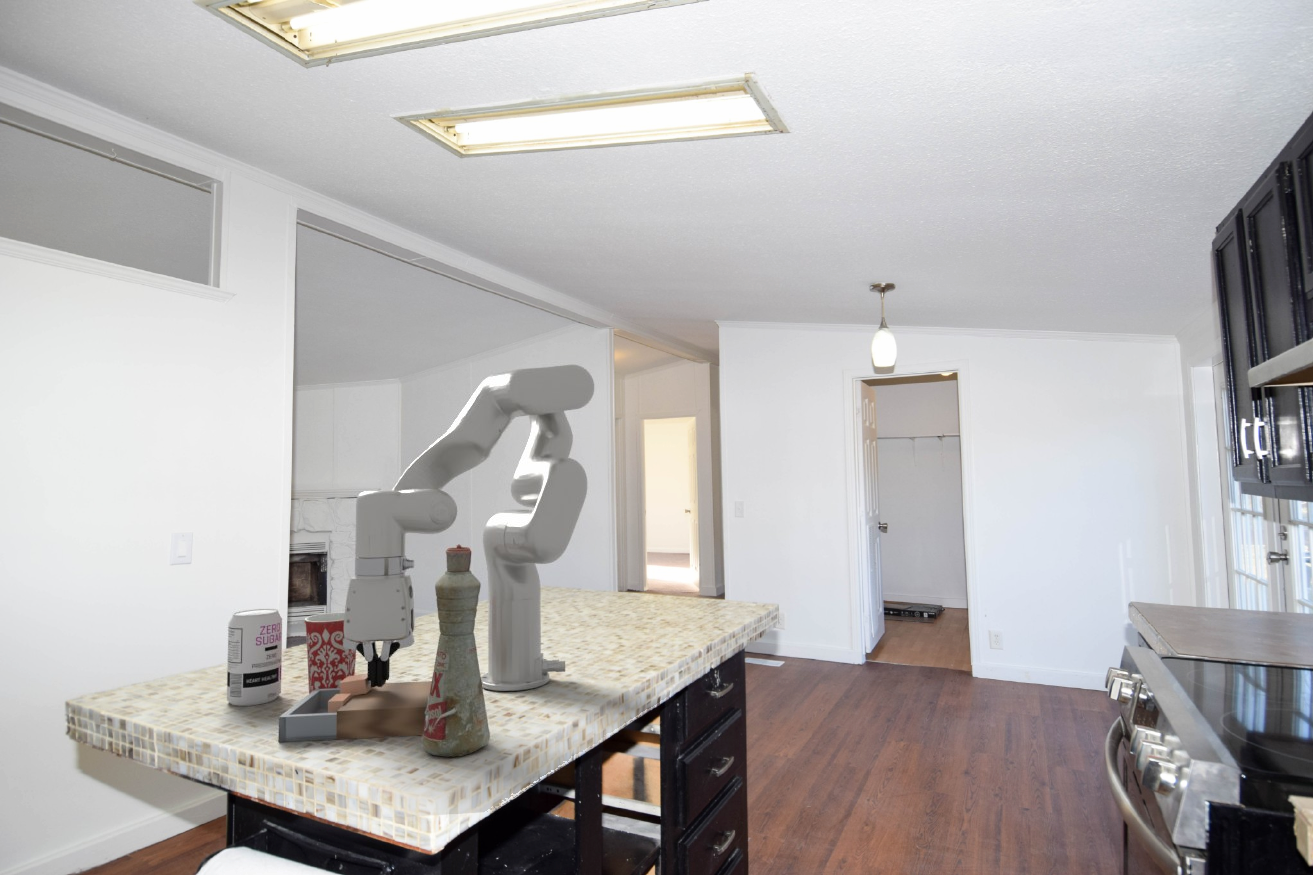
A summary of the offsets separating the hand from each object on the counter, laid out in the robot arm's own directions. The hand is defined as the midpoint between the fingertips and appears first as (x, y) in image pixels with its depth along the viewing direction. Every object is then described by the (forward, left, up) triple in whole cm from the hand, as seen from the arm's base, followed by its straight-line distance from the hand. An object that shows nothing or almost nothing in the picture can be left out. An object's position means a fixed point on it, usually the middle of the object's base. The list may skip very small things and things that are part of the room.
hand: (378, 684), depth 118 cm
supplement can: (+24, -14, -5) cm, 28 cm away
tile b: (+3, -1, -1) cm, 3 cm away
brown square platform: (-3, +2, -5) cm, 6 cm away
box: (+7, +2, -5) cm, 9 cm away
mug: (+12, -18, -5) cm, 22 cm away
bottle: (-15, +16, -5) cm, 23 cm away
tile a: (+3, +5, -2) cm, 6 cm away
